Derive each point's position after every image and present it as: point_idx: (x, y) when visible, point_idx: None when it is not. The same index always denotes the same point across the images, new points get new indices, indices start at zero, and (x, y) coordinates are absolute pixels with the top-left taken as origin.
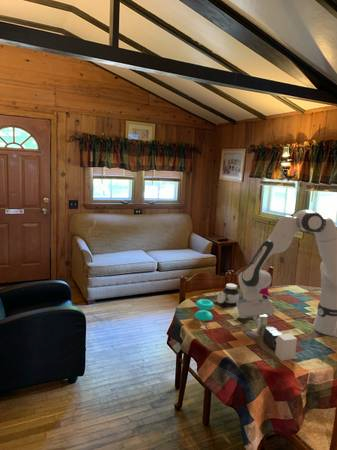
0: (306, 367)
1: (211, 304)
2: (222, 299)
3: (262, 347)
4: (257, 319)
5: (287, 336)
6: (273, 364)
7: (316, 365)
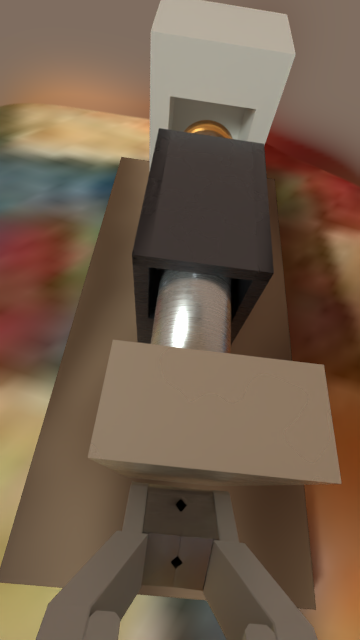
0: (142, 131)
1: None
2: None
3: (276, 293)
4: (245, 569)
5: (218, 23)
6: (285, 188)
7: (81, 124)
